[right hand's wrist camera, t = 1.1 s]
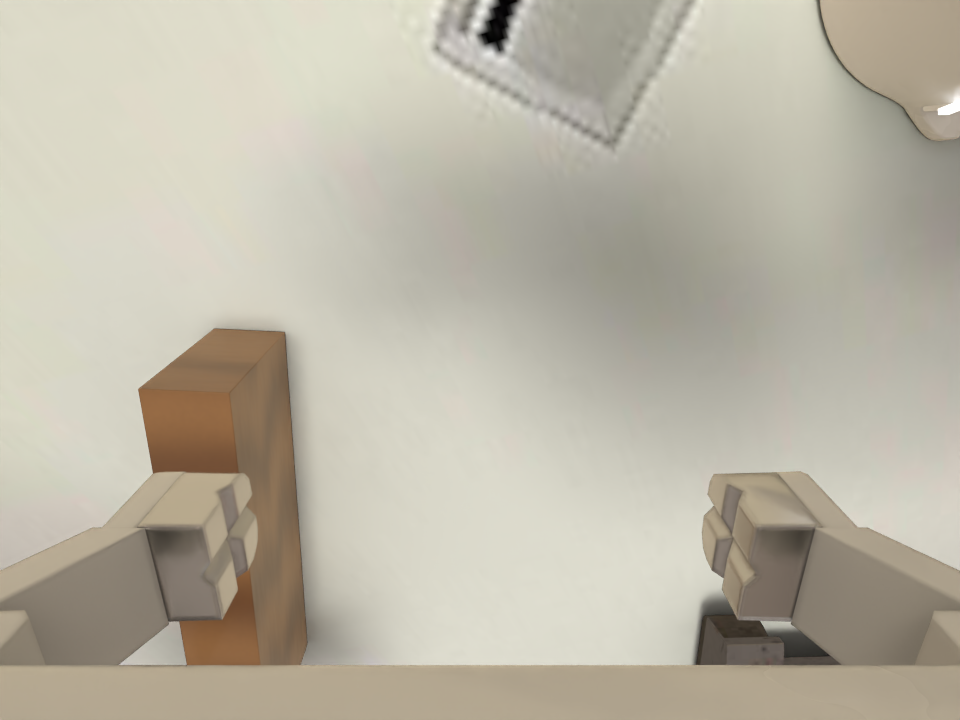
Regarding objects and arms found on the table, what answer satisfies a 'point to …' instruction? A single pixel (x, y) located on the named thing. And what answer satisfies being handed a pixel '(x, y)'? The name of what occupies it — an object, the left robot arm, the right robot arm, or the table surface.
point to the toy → (745, 644)
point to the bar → (238, 449)
